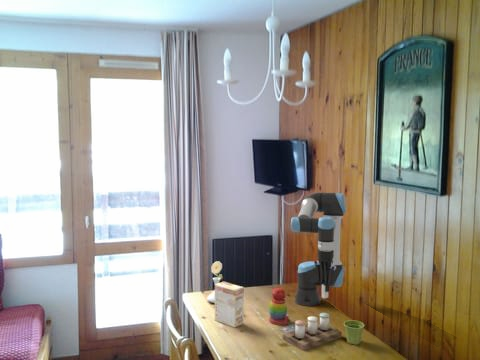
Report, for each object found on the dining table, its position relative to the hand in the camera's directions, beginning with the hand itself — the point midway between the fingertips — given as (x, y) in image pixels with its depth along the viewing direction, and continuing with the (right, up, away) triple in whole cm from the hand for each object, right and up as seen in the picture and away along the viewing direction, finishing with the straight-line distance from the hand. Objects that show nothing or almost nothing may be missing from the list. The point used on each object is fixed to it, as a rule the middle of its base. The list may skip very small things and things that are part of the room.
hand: (324, 297), depth 216 cm
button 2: (0, -15, +1) cm, 15 cm away
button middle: (-7, -16, -3) cm, 17 cm away
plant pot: (+12, -19, -7) cm, 24 cm away
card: (-15, -18, +8) cm, 24 cm away
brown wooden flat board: (-7, -19, -3) cm, 20 cm away
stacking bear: (-21, -17, +17) cm, 32 cm away
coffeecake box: (-47, -17, +16) cm, 53 cm away
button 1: (-13, -16, -8) cm, 22 cm away
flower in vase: (-55, -15, +46) cm, 73 cm away
